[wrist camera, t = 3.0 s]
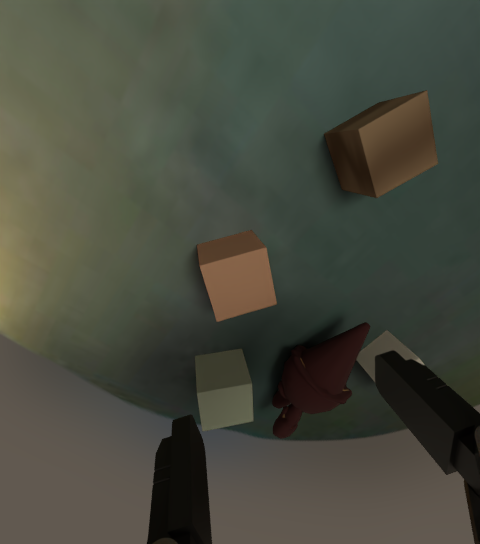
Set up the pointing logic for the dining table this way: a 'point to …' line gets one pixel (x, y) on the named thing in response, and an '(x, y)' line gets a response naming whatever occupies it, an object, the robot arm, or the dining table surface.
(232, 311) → the terracotta cube
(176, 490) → the robot arm
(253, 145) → the dining table surface
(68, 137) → the dining table surface
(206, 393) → the sage cube
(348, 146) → the walnut cube
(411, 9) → the dining table surface
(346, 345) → the icecream
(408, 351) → the cream cube
